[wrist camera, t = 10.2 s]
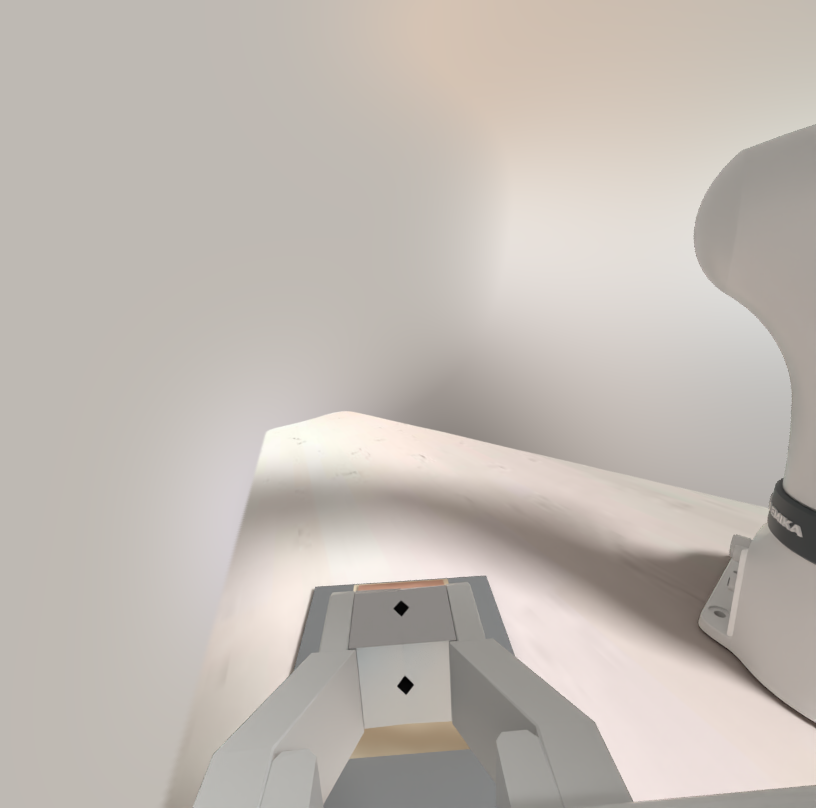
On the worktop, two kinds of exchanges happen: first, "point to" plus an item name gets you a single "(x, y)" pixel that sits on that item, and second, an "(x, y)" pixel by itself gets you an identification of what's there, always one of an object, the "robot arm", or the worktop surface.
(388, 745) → the flat wooden block
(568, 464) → the worktop surface
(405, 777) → the rubber mat
